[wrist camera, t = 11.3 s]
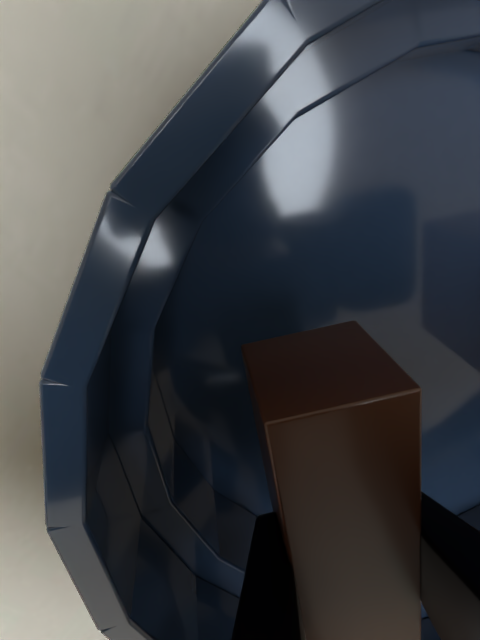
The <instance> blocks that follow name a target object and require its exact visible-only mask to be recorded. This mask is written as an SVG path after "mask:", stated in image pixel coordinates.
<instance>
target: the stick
mask: <svg viewBox="0 0 480 640" xmlns="http://www.w3.org/2000/svg"><path fill="white" fill-rule="evenodd" d="M241 352H242V357H243V362H244V367H245V373H246V378H247V383H248V388H249V393H250V398H251V403H252V408H253V413H254V418H255V423H256V428H257V433H258V439H259V444H260V449H261V454H262V459H263V464H264V469H265V474H266V479H267V484H268V489H269V494H270V500H271V505H272V510H273V512H276V516H277V519H278V523H279V527H280V530H281V534H282V538H283V542H284V545H285V549H286V553H287V556H288V560H289V562H290V564H291V565H292V567H293V572H294V577H295V582H296V588H297V593H298V599H299V604H300V610H301V615H302V621H303V626H304V631H305V637H306V640H421V600H420V534H421V461H422V390H421V388H420V386H419V385H418V384H417V383H416V382H415V381H414V380H413V379H412V378H411V377H410V376H409V375H408V374H407V373H406V372H405V371H404V370H403V369H402V368H401V367H400V366H399V365H398V364H397V363H396V362H395V361H394V359H393V358H392V357H391V356H390V355H389V354H388V353H387V352H386V351H385V350H384V349H383V348H382V347H381V346H380V345H379V344H378V343H377V342H376V341H375V340H374V339H373V338H372V337H371V336H370V335H369V334H368V333H367V332H366V331H365V330H364V329H363V328H362V327H361V326H360V324H359V323H358V322H357V321H348V322H344V323H339V324H335V325H330V326H325V327H321V328H316V329H312V330H307V331H302V332H298V333H293V334H289V335H284V336H279V337H275V338H270V339H266V340H261V341H257V342H252V343H247V344H243V345H241Z"/></svg>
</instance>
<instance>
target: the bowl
mask: <svg viewBox="0 0 480 640" xmlns="http://www.w3.org/2000/svg"><path fill="white" fill-rule="evenodd" d="M348 321H357V322H358V323H359V324H360V326H361V327H362V328H363V329H364V330H365V331H366V332H367V333H368V334H369V335H370V336H371V337H372V338H373V339H374V340H375V341H376V342H377V343H378V344H379V345H380V346H381V347H382V348H383V349H384V350H385V351H386V352H387V353H388V354H389V355H390V356H391V357H392V358H393V359H394V361H395V362H396V363H397V364H398V365H399V366H400V367H401V368H402V369H403V370H404V371H405V372H406V373H407V374H408V375H409V376H410V377H411V378H412V379H413V380H414V381H415V382H416V383H417V384H418V385H419V386H420V388H421V390H422V461H421V491H422V492H423V493H425V494H426V495H428V496H429V497H431V498H432V499H434V500H435V501H436V502H438V503H439V504H441V505H442V506H444V507H445V508H447V509H448V510H450V511H451V512H452V513H454V514H455V515H457V516H458V517H460V518H461V519H463V520H464V521H466V522H467V523H468V524H470V525H471V526H473V527H474V528H476V529H477V530H479V531H480V0H262V1H261V2H260V3H259V4H258V6H257V7H256V8H255V9H254V10H253V12H252V13H251V14H250V15H249V17H248V18H247V19H246V20H245V21H244V23H243V24H242V25H241V26H240V27H239V29H238V30H237V31H236V32H235V34H234V35H233V36H232V37H231V38H230V40H229V41H228V42H227V43H226V44H225V46H224V47H223V48H222V49H221V50H220V52H219V53H218V54H217V55H216V57H215V58H214V59H213V60H212V61H211V63H210V64H209V65H208V66H207V67H206V69H205V70H204V71H203V72H202V73H201V75H200V76H199V77H198V78H197V80H196V81H195V82H194V83H193V84H192V86H191V87H190V88H189V89H188V90H187V92H186V93H185V94H184V95H183V97H182V98H181V99H180V100H179V101H178V103H177V104H176V105H175V106H174V107H173V109H172V110H171V111H170V112H169V113H168V115H167V116H166V117H165V118H164V120H163V121H162V122H161V123H160V124H159V126H158V127H157V128H156V129H155V130H154V132H153V133H152V134H151V135H150V136H149V138H148V139H147V140H146V141H145V143H144V144H143V145H142V146H141V147H140V149H139V150H138V151H137V152H136V153H135V155H134V156H133V157H132V158H131V160H130V161H129V162H128V163H127V164H126V166H125V167H124V168H123V169H122V170H121V172H120V173H119V174H118V175H117V176H116V178H115V179H114V180H113V181H112V183H111V184H110V190H108V191H107V192H106V194H105V196H104V199H103V201H102V204H101V207H100V210H99V213H98V215H97V218H96V221H95V224H94V226H93V229H92V232H91V235H90V237H89V240H88V243H87V246H86V248H85V251H84V254H83V257H82V260H81V262H80V265H79V268H78V271H77V273H76V276H75V279H74V282H73V284H72V287H71V290H70V293H69V295H68V298H67V301H66V304H65V307H64V309H63V312H62V315H61V318H60V320H59V323H58V326H57V329H56V331H55V334H54V337H53V340H52V342H51V345H50V348H49V351H48V354H47V356H46V359H45V362H44V365H43V367H42V370H41V379H40V381H39V393H40V416H41V438H42V460H43V483H44V505H45V524H46V526H47V533H48V534H49V536H50V538H51V540H52V542H53V544H54V546H55V548H56V550H57V552H58V554H59V556H60V558H61V560H62V562H63V564H64V565H65V567H66V569H67V571H68V573H69V575H70V577H71V579H72V581H73V583H74V585H75V587H76V589H77V591H78V593H79V595H80V596H81V598H82V600H83V602H84V604H85V606H86V608H87V610H88V612H89V614H90V616H91V618H92V620H93V622H94V624H95V626H96V627H97V629H98V630H100V631H101V633H102V634H103V635H104V636H106V637H107V638H108V639H109V640H231V638H232V633H233V629H234V624H235V619H236V614H237V609H238V604H239V599H240V594H241V590H242V585H243V580H244V575H245V570H246V565H247V560H248V555H249V550H250V546H251V541H252V536H253V531H254V526H255V521H256V518H257V516H259V515H261V514H266V513H270V512H273V510H272V505H271V500H270V494H269V489H268V484H267V479H266V474H265V469H264V464H263V459H262V454H261V449H260V444H259V439H258V433H257V428H256V423H255V418H254V413H253V408H252V403H251V398H250V393H249V388H248V383H247V378H246V373H245V367H244V362H243V357H242V352H241V345H243V344H247V343H252V342H257V341H261V340H266V339H270V338H275V337H279V336H284V335H289V334H293V333H298V332H302V331H307V330H312V329H316V328H321V327H325V326H330V325H335V324H339V323H344V322H348ZM421 640H441V639H440V637H439V635H438V633H437V632H436V630H435V628H434V626H433V624H432V622H431V620H430V618H429V617H428V615H427V613H426V611H425V609H424V607H423V604H422V602H421Z"/></svg>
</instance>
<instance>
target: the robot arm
mask: <svg viewBox="0 0 480 640" xmlns="http://www.w3.org/2000/svg"><path fill="white" fill-rule="evenodd" d="M420 600H421V602H422V604H423V607H424V609H425V611H426V613H427V615H428V617H429V618H430V620H431V622H432V624H433V626H434V628H435V630H436V632H437V633H438V635H439V637H440V639H441V640H480V531H479V530H477V529H476V528H474V527H473V526H471V525H470V524H468V523H467V522H466V521H464V520H463V519H461V518H460V517H458V516H457V515H455V514H454V513H452V512H451V511H450V510H448V509H447V508H445V507H444V506H442V505H441V504H439V503H438V502H436V501H435V500H434V499H432V498H431V497H429V496H428V495H426V494H425V493H423V492H422V491H421V534H420ZM231 640H306V637H305V631H304V626H303V621H302V615H301V610H300V604H299V599H298V593H297V588H296V582H295V577H294V572H293V567H292V565H291V564H290V562H289V560H288V556H287V553H286V549H285V545H284V542H283V538H282V534H281V530H280V527H279V523H278V519H277V516H276V512H270V513H266V514H261V515H259V516H257V518H256V521H255V526H254V531H253V536H252V541H251V546H250V550H249V555H248V560H247V565H246V570H245V575H244V580H243V585H242V590H241V594H240V599H239V604H238V609H237V614H236V619H235V624H234V629H233V633H232V638H231Z"/></svg>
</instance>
